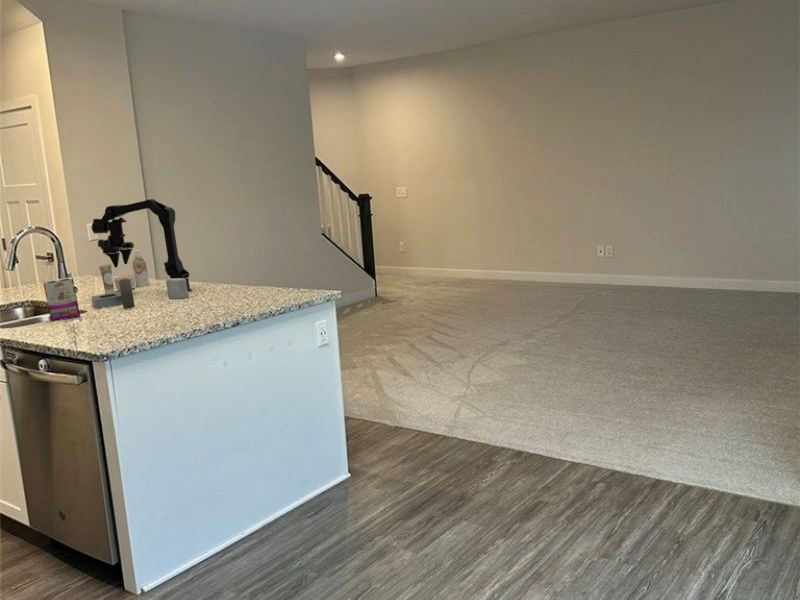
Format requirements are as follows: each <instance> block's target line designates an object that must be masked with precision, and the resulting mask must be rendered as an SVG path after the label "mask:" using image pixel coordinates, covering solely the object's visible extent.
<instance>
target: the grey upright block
mask: <svg viewBox="0 0 800 600" xmlns="http://www.w3.org/2000/svg"><path fill="white" fill-rule="evenodd" d="M123 276H124V277H122V276H120V277H121V280H120V281H119V286H120V290H119V292H120V293H121V297H122V303H123V305H122V308H125V309H124V310H127V309H126V308H130V309H133V308H132V307H134V308H135V307H136V306H135V305H136V304H135V299H134V295H133V294H134V293H133V289H132V287H131V281H130V279H127V276H128V275H123Z"/></svg>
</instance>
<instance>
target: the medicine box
mask: <svg viewBox="0 0 800 600" xmlns="http://www.w3.org/2000/svg"><path fill="white" fill-rule="evenodd" d="M165 283H166V290H167V295H168V299H169V300H174V299H175V300H176V299H177V300H182V299H183V298H184V299H186V297H187V298H189V292H188V290H187V284H186V279H185V278H173V279H171V278H169V279H167V280H165ZM184 299H183V300H184Z"/></svg>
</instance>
